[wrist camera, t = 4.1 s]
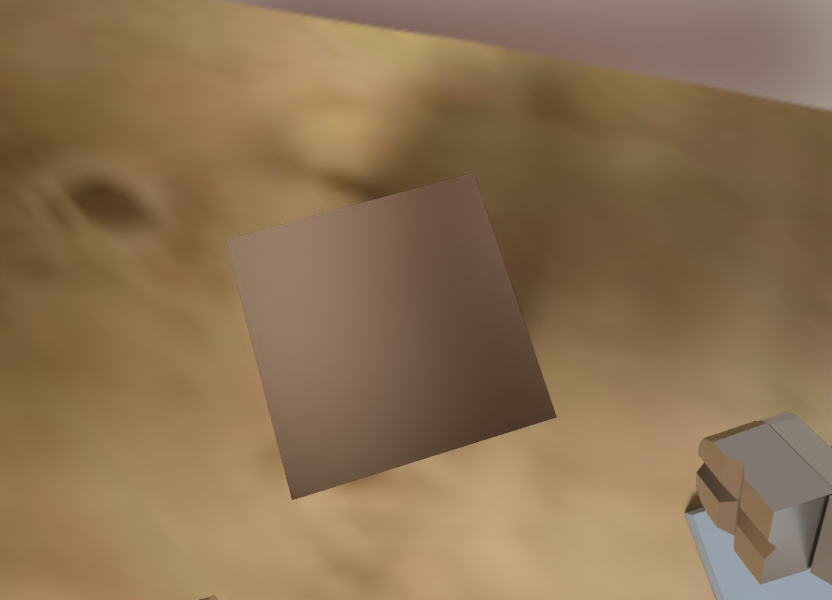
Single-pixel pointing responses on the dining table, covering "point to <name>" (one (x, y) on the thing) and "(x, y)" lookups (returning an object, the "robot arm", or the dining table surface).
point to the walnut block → (386, 334)
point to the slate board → (745, 569)
